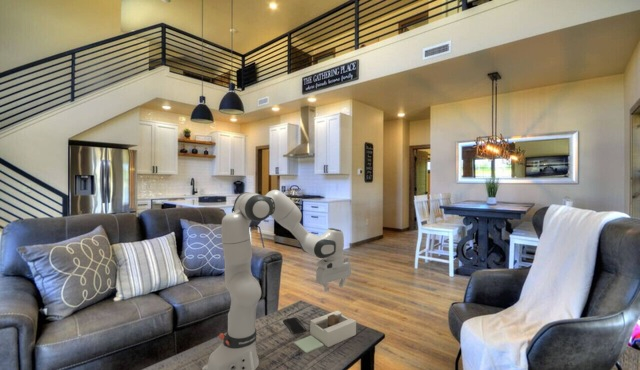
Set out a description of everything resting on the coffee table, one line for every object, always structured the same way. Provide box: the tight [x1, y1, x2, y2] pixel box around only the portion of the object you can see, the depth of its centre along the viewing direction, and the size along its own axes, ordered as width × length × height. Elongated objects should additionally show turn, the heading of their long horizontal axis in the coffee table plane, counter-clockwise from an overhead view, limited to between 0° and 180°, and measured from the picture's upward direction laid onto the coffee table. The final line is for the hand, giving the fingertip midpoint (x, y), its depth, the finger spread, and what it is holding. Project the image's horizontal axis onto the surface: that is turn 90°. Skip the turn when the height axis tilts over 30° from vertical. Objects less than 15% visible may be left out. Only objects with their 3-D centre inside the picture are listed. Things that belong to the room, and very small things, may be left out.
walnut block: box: [328, 314, 339, 327], centre depth 150 cm, size 4×4×7 cm
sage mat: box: [293, 334, 325, 354], centre depth 141 cm, size 10×10×1 cm
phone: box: [282, 316, 307, 336], centre depth 158 cm, size 8×1×15 cm
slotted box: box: [309, 310, 357, 348], centre depth 150 cm, size 18×14×7 cm
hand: (334, 288), depth 149 cm, fingers open, 8 cm apart
